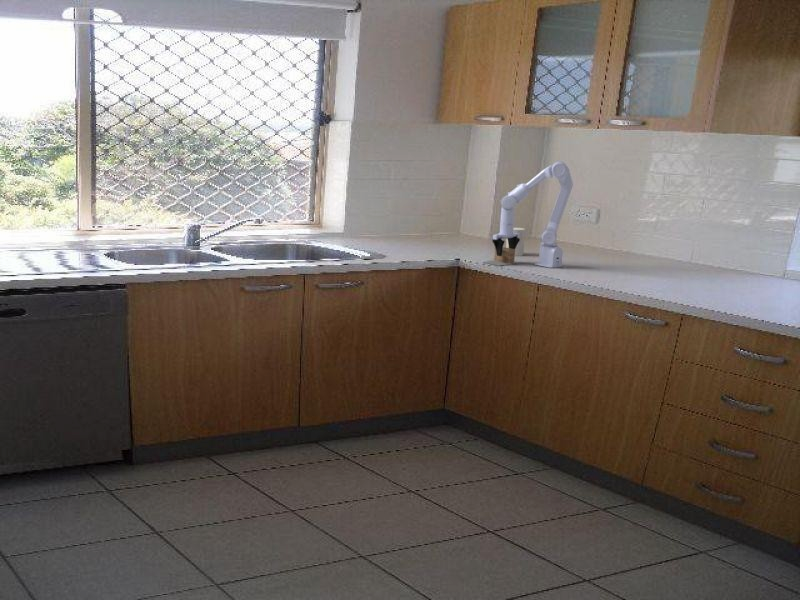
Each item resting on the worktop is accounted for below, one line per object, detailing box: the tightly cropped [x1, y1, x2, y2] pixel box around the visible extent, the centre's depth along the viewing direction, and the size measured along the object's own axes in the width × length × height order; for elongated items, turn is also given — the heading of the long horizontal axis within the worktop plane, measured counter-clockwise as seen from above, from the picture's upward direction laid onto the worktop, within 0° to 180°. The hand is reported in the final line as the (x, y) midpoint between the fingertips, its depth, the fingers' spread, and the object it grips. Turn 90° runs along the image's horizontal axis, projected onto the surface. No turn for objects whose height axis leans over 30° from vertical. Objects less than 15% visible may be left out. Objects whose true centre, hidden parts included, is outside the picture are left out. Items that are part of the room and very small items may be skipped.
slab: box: [493, 246, 516, 264], centre depth 365 cm, size 9×3×6 cm, turn 40°
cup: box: [505, 227, 526, 257], centre depth 388 cm, size 8×8×12 cm
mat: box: [481, 260, 518, 267], centre depth 363 cm, size 10×11×1 cm
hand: (505, 255), depth 364 cm, fingers open, 7 cm apart
